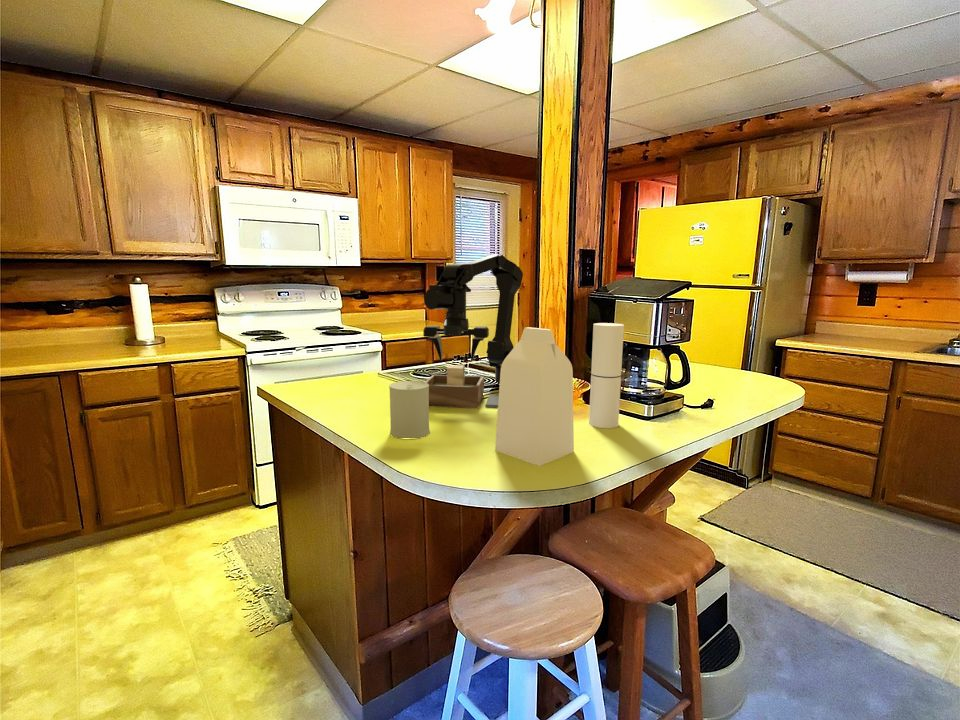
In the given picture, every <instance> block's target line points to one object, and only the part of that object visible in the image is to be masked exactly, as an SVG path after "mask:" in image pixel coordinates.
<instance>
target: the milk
mask: <svg viewBox="0 0 960 720" xmlns="http://www.w3.org/2000/svg"><path fill="white" fill-rule="evenodd" d="M553 334H554V333H553V331H552V329H548V328H542V327H541V328H538V327H530V326H529V327H524V329H523V331H522V334H521V336H520V338H519V341H518V342H517V343H516V344H515V346H514V348H513V349H512V351H511V352H510V353H509V354H508V356H507V357H506V358H505V359H504V361H503V363H502V366H501V372H500V386H499V387H498V390H499V391H498V395H499V400H498V408H497V417H496V418H497V419H496V430H495V431H496V432H495V446H494V451H495V452H499V453H501V454H503V455H506V456H510V457H512V458H515V459H518V460H520V461H521V460H522V461H524V462H526V463H528V464H533V465H535V466H537V467H541V466H544V465H545V464H547V463H551V462H553V461H555V460H557V459H560V458H562V457H566V456H567V455H569V454H572V453H574V452H575V443H574V442H575V441H574V439H575V438H574V437H575V436H574V434H575V433H574V429H575V428H574V380H573V379H574V376H573V375H574V374H573V365H572V363H571V361H570V359H569V358H568V357H567V355H566V354H565V353H564V352H563V351H562V350H561V348H560V347H559V346H558V345H557V343H556V341H555V337H554V335H553Z"/></svg>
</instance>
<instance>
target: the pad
mask: <svg viewBox="0 0 960 720" xmlns="http://www.w3.org/2000/svg"><path fill="white" fill-rule="evenodd" d="M498 400H499V394H492V393H491V394H489V395H488V398H487V400H486V403H485V408H494V409H498Z"/></svg>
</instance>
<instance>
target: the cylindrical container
mask: <svg viewBox="0 0 960 720" xmlns="http://www.w3.org/2000/svg"><path fill="white" fill-rule="evenodd" d="M624 328H625V325H624V324H623V323H615V322H614V323H613V322H609V323H608V322H597V323H593V329H592V347H591V348H592V349H591V350H592V351H591V373H590V374H591V375H590V395H589V412H588V413H589V414H588V416H589V417H588V423H589V424H588V425H590V426H592V427H595V428H600V429H614V428H617V427H618V426H619V422H620V421H619V418H620V417H619V416H620V402H621V401H620V399H621V383H622V368H623V367H622V364H623V350H624V349H623V347H624V333H625V331H624V330H625V329H624Z"/></svg>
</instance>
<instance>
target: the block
mask: <svg viewBox="0 0 960 720" xmlns="http://www.w3.org/2000/svg"><path fill="white" fill-rule="evenodd" d="M446 375H447V386H464V385H465V376H466V369H465V365H461V364H460V365H457V364H456V365H452V364H449V365H448V366H447V367H446Z"/></svg>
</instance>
